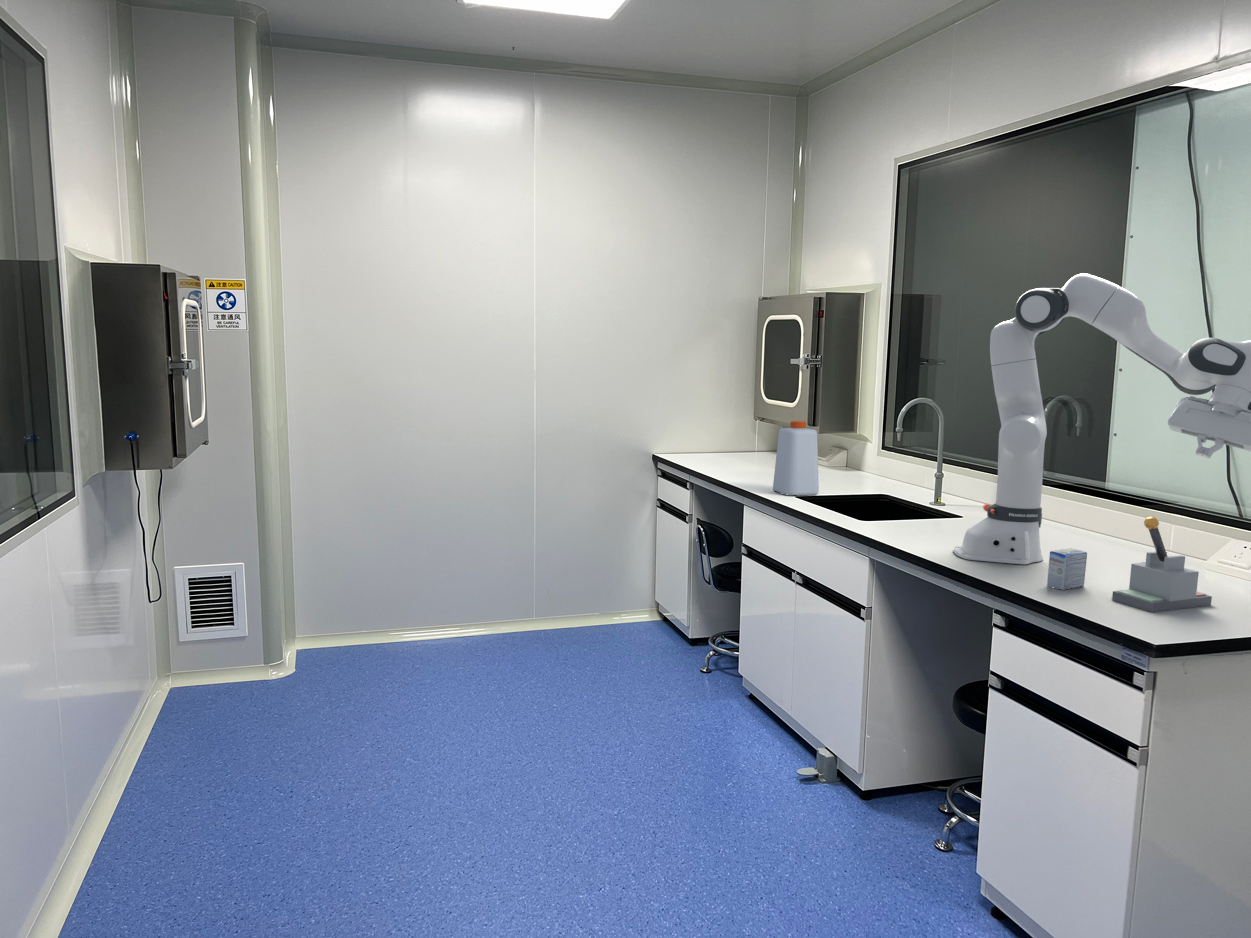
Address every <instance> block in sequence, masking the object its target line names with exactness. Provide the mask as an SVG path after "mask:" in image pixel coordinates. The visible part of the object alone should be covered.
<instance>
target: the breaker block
mask: <svg viewBox="0 0 1251 938" xmlns="http://www.w3.org/2000/svg"><path fill="white" fill-rule="evenodd" d="M1166 553H1167V554H1168V552H1167V551H1166ZM1185 563H1186V556H1185V555H1182V554H1181V555H1174V556H1173V555H1171V556H1169V555H1168V557H1165V560H1164V562H1162V561H1160V560H1159V558H1158V556H1157V553H1156V551H1150V552H1146V557H1145V562H1137V563H1134V562H1133V563H1131V565H1130V574H1129V575H1130V577H1129V586H1128V589H1122V590H1113V591H1112V597H1111V600H1112V601H1114V600H1115V601H1114V602H1117V601H1118V602H1117V603H1120V602H1121V603H1120V604H1123V605H1124V604H1125V605H1127V604H1128V605H1127V606H1130V605H1131V607H1133V606H1134V608H1136V607H1138V609H1140V608H1141V609H1140V610H1143V609H1144V611H1146V610H1147V611H1146V612H1149V611H1150V613H1157V612H1158V613H1159V612H1168V611H1173V610H1174V611H1175V610H1183V609H1190V608H1191V607H1192V608H1198V607H1199V606H1200V607H1206V606H1207V605H1208V606H1212V600H1213V599H1212V598H1213V597H1212V595H1209V594H1207V593H1204V592H1200V591H1198V584H1199V583H1198V582H1199V574H1200V573H1199V571H1198V570H1194V569H1190V568H1185ZM1192 608H1191V609H1192Z"/></svg>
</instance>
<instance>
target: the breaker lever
mask: <svg viewBox="0 0 1251 938" xmlns="http://www.w3.org/2000/svg"><path fill="white" fill-rule="evenodd" d="M1143 525H1144V527H1145V528H1146V529H1147V530H1148V532H1149V534H1150V538H1151V539H1152V540H1151V541H1152V543H1153V546H1154V549H1155V552H1156V553H1157V556H1158V558H1159V560H1160V561H1162V562H1164V560H1165V557H1169V555H1168V552H1167V551H1166V548H1165V545H1164V542H1163V539H1162V536H1161V532H1160V529H1159V525H1160V521H1159V520H1158V518H1156V517H1155V516H1148V517H1146V518H1145V519H1144V521H1143ZM1166 552H1167V553H1166Z"/></svg>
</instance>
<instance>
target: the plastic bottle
mask: <svg viewBox="0 0 1251 938" xmlns="http://www.w3.org/2000/svg"><path fill="white" fill-rule="evenodd" d="M789 423H790V425H789V427H782V428H780V429H779V431H778V438H777V447H776V458H775V466H774V474H773V475H774V476H773V481H772V483H773V484H772V490H773V492H775V491H777V492H780V493H783V494H788V495H809V496H817V494H819V491H820V490H819V488H820V486H819V456H818V455H819V452H818V432H817V430H816V429H813V428H807V422H806V421H804V420H802V421H801V420H792V421H790V422H789ZM777 492H776V493H777ZM780 493H779V494H780ZM783 494H782V495H783Z"/></svg>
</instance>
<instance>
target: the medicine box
mask: <svg viewBox="0 0 1251 938" xmlns="http://www.w3.org/2000/svg"><path fill="white" fill-rule="evenodd" d="M1048 558H1049V559H1048V571H1047V582H1046V585H1047V587H1048V586H1050V587H1049V588H1052V587H1054V588H1053V589H1055V588H1058V589H1057V590H1059V589H1061V590H1060V591H1065V590H1066V589H1067V590H1072V589H1076V587H1077V588H1081V587H1080V586H1083V587H1085V580H1086V571H1087V569H1086V568H1087V559H1088V552H1087V551H1084V550H1081V549H1076V548H1072V547H1069V548H1063V549H1062V548H1061V549H1057V550H1051V551H1049V556H1048ZM1071 588H1072V589H1071Z"/></svg>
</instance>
